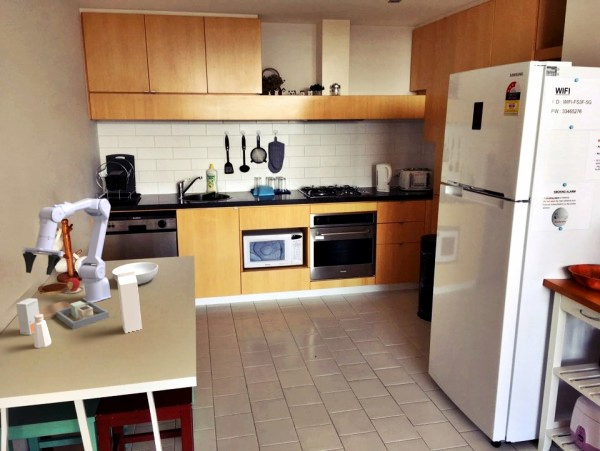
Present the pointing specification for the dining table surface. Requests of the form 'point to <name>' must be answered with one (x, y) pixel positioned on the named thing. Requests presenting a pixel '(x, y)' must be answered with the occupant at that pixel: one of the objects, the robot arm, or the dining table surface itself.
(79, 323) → the bin
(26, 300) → the skincare box
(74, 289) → the apple
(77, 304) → the sage block
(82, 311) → the birch block
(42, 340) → the pepper shaker
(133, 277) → the milk
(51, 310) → the walnut board
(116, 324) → the dining table surface
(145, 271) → the serving bowl
